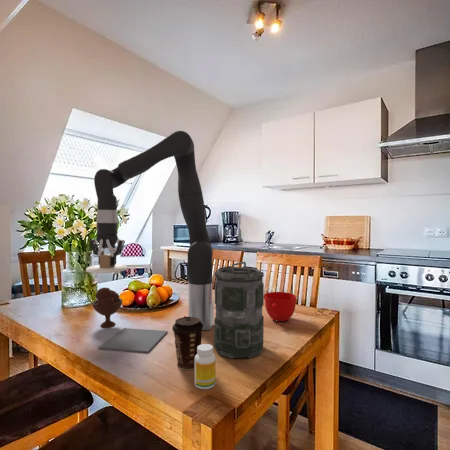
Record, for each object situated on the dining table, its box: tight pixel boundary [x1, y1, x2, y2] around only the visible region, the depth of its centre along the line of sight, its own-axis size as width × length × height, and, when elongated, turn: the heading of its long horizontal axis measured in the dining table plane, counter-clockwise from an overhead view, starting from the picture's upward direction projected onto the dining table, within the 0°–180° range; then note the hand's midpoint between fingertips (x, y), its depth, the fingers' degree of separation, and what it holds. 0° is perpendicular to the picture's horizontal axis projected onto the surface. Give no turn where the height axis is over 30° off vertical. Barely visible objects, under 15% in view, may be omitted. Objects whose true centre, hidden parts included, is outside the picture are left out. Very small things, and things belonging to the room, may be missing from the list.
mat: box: [97, 327, 168, 354], centre depth 104 cm, size 17×17×1 cm
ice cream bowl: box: [91, 287, 124, 329], centre depth 118 cm, size 11×11×15 cm
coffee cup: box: [171, 315, 203, 371], centre depth 87 cm, size 9×8×13 cm
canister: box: [213, 261, 265, 359], centre depth 97 cm, size 16×16×28 cm
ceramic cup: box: [264, 291, 297, 322], centre depth 124 cm, size 13×17×10 cm
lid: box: [85, 253, 128, 274], centre depth 117 cm, size 15×15×6 cm
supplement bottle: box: [193, 343, 216, 390], centre depth 77 cm, size 5×5×10 cm
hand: (107, 265), depth 118 cm, fingers closed on lid, 4 cm apart
